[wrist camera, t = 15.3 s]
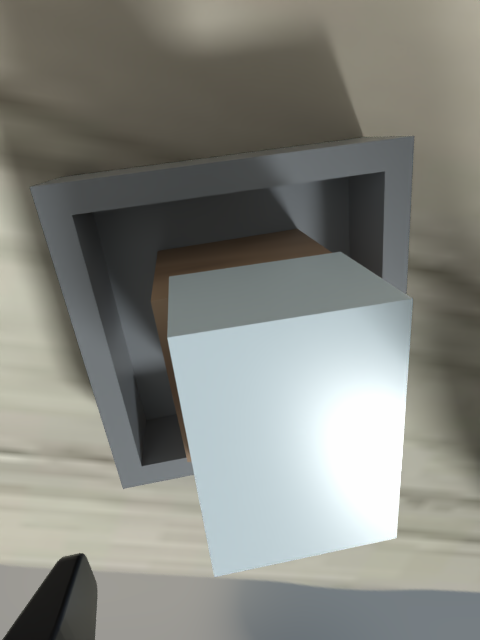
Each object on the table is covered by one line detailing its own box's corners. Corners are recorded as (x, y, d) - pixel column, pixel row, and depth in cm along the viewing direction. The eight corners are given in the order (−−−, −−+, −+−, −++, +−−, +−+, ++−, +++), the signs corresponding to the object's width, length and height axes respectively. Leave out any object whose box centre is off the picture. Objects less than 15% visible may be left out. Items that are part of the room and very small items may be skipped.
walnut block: (305, 351, 20) (355, 428, 15) (183, 373, 20) (187, 462, 14) (297, 228, 18) (352, 266, 12) (157, 251, 17) (150, 301, 12)
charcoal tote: (362, 386, 23) (399, 433, 19) (131, 430, 21) (123, 488, 18) (364, 137, 17) (414, 135, 14) (61, 177, 16) (29, 186, 13)
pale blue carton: (341, 441, 15) (396, 538, 11) (203, 467, 14) (214, 577, 11) (340, 251, 12) (413, 298, 8) (169, 276, 12) (167, 337, 8)
